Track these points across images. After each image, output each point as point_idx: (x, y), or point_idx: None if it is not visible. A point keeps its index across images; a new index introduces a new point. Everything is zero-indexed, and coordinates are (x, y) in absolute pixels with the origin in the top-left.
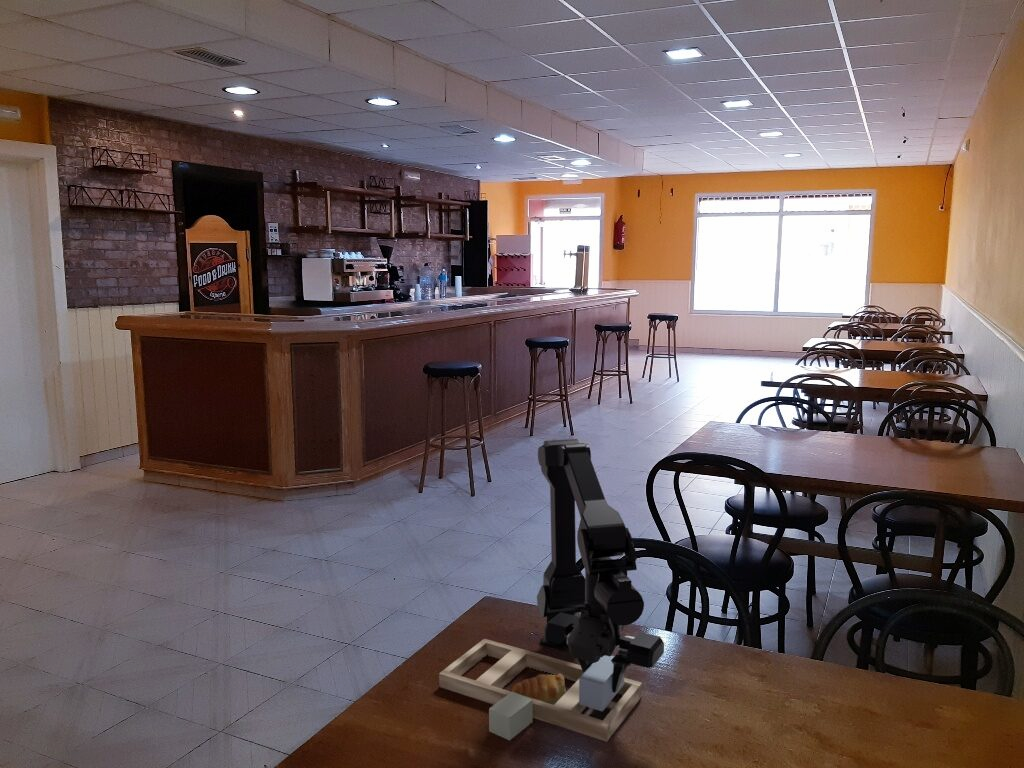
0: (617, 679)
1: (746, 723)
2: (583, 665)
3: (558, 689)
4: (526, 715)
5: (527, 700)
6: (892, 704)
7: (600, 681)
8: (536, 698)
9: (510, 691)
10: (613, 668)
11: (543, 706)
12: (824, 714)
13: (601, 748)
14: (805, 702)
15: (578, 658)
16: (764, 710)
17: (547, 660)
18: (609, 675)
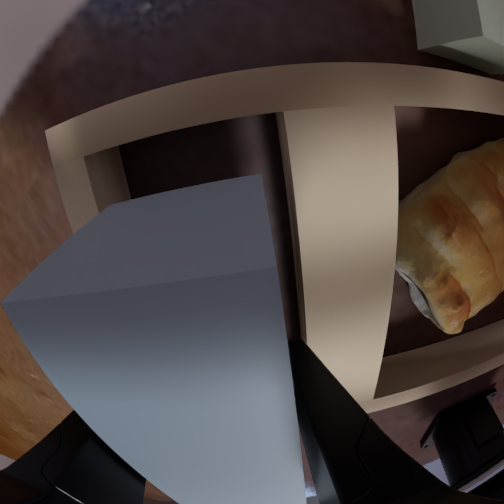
0: (76, 412)
1: (7, 386)
2: (350, 439)
3: (434, 248)
4: (440, 2)
5: (492, 21)
6: (7, 444)
7: (48, 340)
8: (479, 158)
9: None
10: (61, 475)
11: (426, 67)
12: (4, 423)
13: (78, 78)
14: (30, 439)
15: (413, 476)
16: (28, 418)
17: (493, 356)
18: (93, 426)
